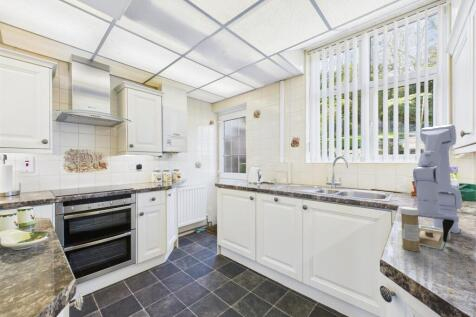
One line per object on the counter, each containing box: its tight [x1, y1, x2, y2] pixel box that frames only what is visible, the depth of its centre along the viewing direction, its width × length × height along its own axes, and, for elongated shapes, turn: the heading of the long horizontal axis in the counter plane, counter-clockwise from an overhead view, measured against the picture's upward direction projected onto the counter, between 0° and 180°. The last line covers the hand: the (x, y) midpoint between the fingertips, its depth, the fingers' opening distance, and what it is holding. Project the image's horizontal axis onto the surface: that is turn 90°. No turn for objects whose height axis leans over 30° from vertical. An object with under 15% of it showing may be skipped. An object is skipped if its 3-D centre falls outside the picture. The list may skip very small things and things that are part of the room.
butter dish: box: [419, 224, 451, 242], centre depth 76 cm, size 5×9×3 cm, turn 39°
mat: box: [419, 240, 446, 251], centre depth 70 cm, size 11×7×1 cm, turn 129°
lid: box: [419, 231, 442, 247], centre depth 70 cm, size 5×9×3 cm, turn 130°
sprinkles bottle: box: [399, 206, 421, 252], centre depth 65 cm, size 5×5×14 cm
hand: (429, 238), depth 70 cm, fingers open, 7 cm apart
